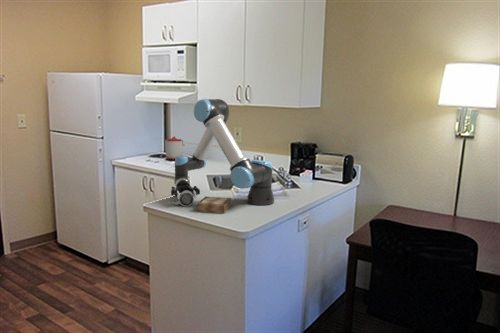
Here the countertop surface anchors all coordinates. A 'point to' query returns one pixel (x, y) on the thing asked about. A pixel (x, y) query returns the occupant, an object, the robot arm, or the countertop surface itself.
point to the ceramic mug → (185, 199)
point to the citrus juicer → (173, 147)
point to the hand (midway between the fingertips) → (187, 196)
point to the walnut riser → (214, 205)
